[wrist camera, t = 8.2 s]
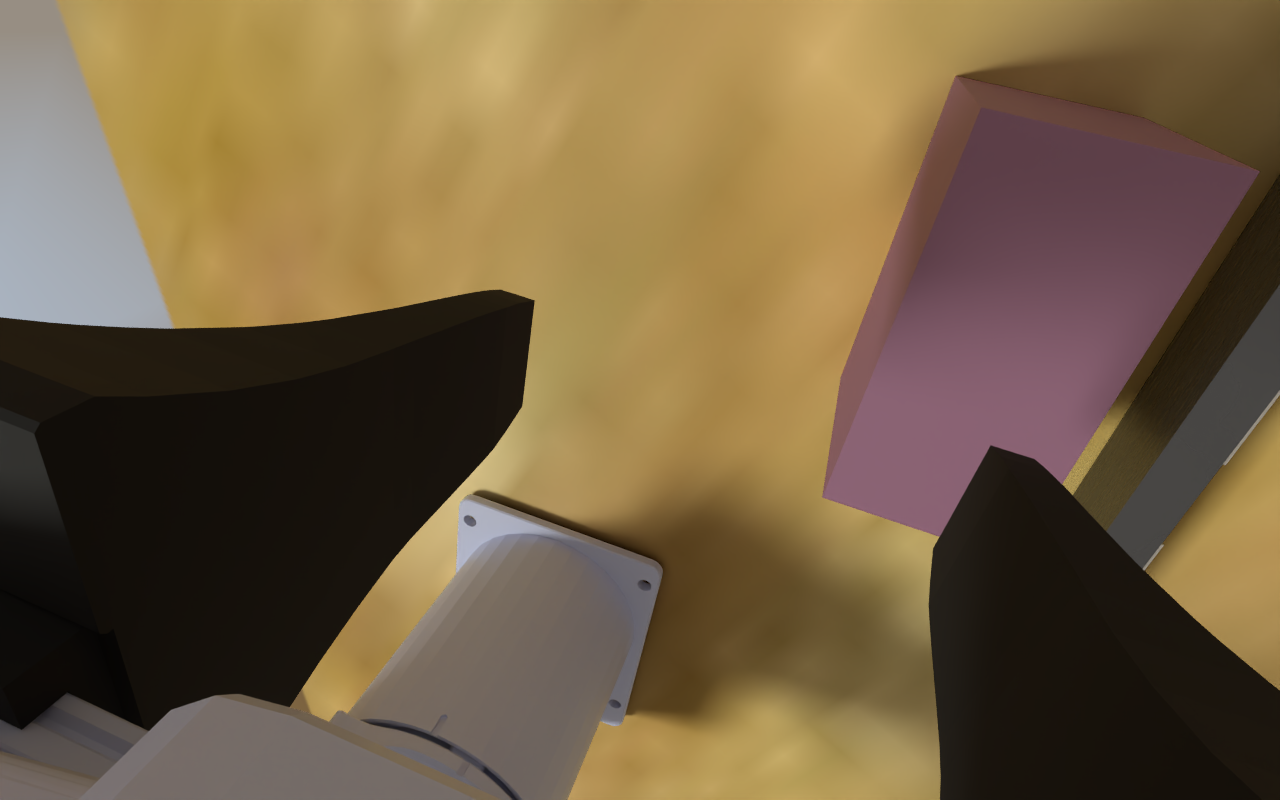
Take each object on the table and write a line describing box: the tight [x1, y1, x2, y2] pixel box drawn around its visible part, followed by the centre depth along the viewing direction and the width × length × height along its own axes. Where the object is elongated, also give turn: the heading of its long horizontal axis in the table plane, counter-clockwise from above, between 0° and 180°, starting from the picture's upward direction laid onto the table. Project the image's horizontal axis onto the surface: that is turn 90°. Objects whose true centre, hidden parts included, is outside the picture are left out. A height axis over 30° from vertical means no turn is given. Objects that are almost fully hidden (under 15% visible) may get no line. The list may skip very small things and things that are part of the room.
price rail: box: [1073, 175, 1280, 570], centre depth 16 cm, size 18×2×2 cm, turn 169°
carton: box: [822, 76, 1260, 537], centre depth 15 cm, size 4×8×6 cm, turn 169°
